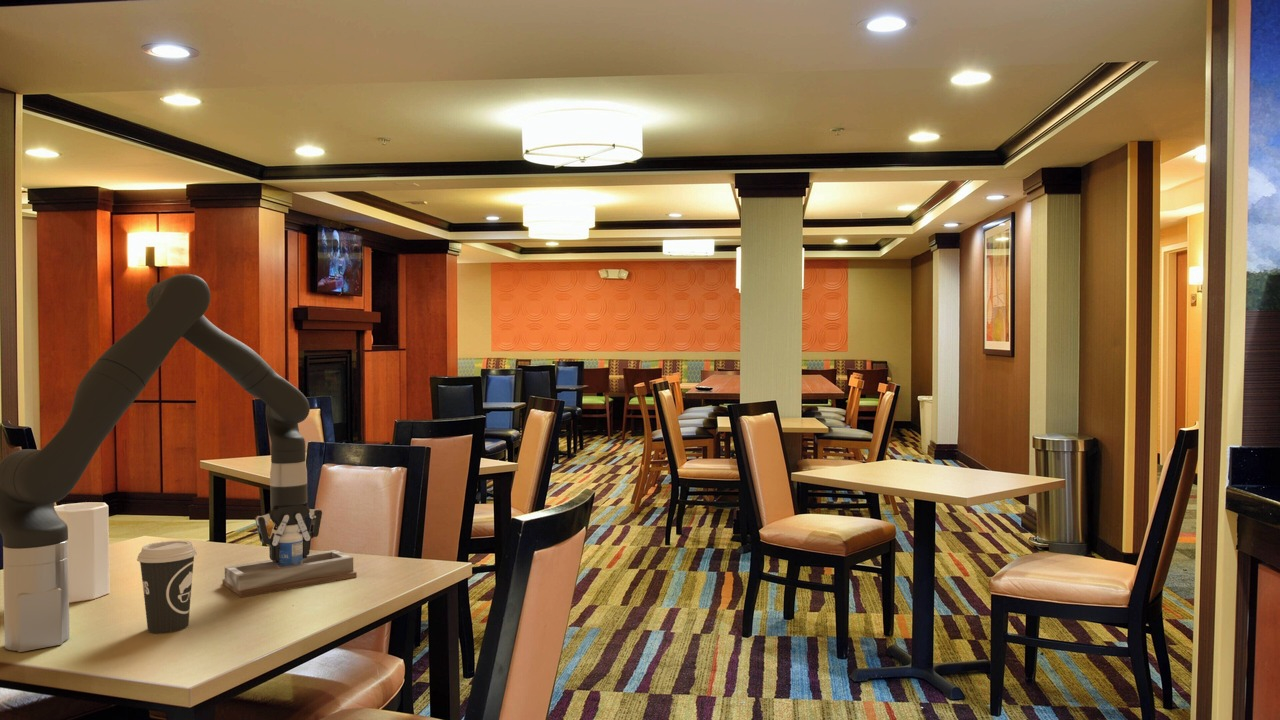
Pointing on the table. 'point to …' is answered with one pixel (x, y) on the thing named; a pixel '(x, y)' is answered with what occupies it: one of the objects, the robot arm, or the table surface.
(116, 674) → the table surface
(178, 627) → the coffee cup
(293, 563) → the pill bottle
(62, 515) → the cup
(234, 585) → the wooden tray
